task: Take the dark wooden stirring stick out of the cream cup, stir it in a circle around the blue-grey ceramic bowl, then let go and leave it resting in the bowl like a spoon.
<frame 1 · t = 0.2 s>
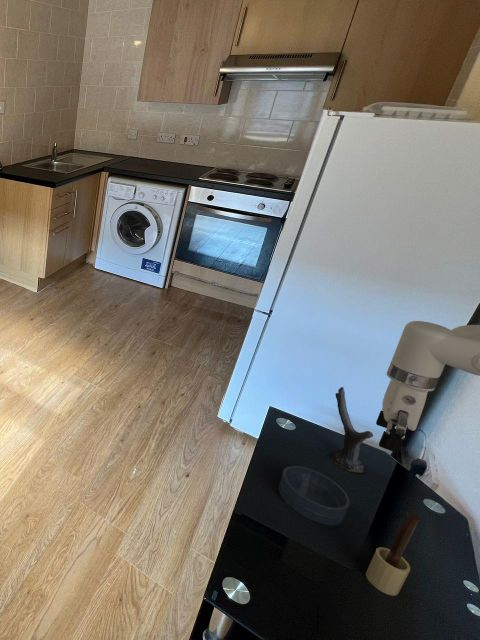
hand: (386, 437, 95), 30 cm above the table, tool pointing down, fingers open, 9 cm apart
bowl: (309, 503, 113), on the table
stick: (381, 582, 92), point 1 cm above the table, touching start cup
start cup: (380, 584, 92), on the table
antler: (338, 461, 128), on the table
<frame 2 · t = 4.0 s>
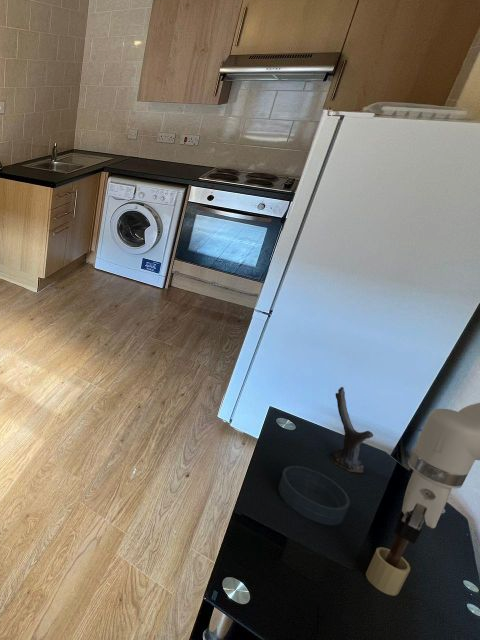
hand: (405, 533, 88), 16 cm above the table, tool pointing down, fingers closed on stick, 1 cm apart
stick: (381, 582, 92), point 1 cm above the table, touching gripper, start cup
everything else where it was.
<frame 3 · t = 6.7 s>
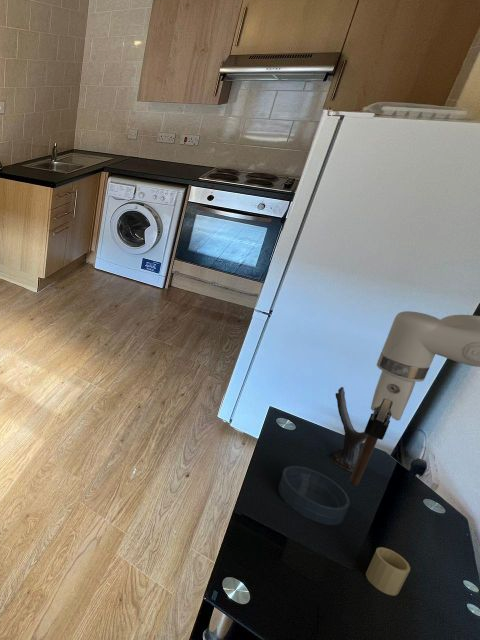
hand: (374, 433, 95), 31 cm above the table, tool pointing down, fingers closed on stick
stick: (353, 482, 100), point 16 cm above the table, touching gripper
everything else where it was.
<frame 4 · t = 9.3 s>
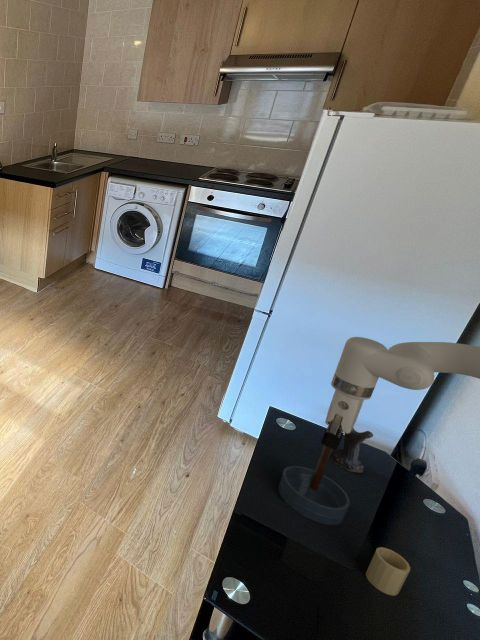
hand: (329, 443, 107), 20 cm above the table, tool pointing down, fingers closed on stick
stick: (313, 487, 111), point 5 cm above the table, touching gripper
everything else where it was.
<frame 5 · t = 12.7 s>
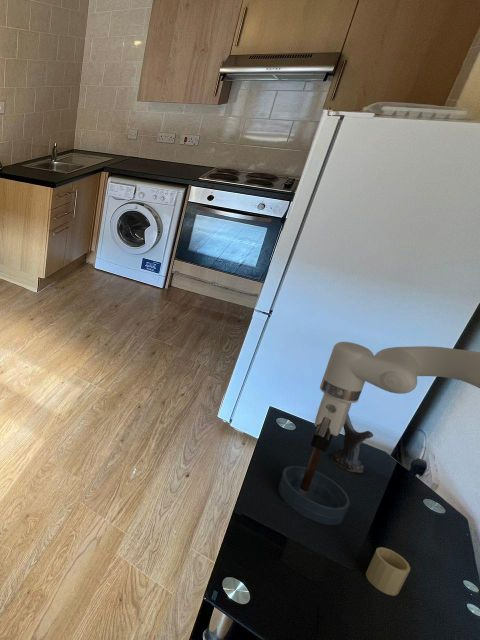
hand: (319, 446, 109), 18 cm above the table, tool pointing down, fingers closed on stick, 1 cm apart
stick: (303, 488, 114), point 3 cm above the table, touching gripper
everything else where it was.
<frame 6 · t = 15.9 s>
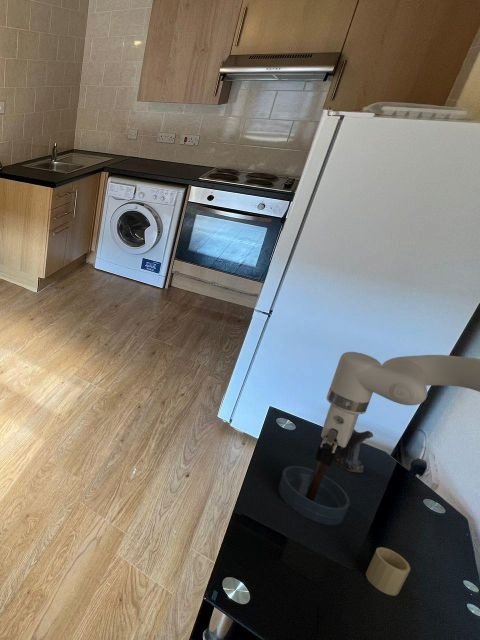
hand: (327, 453, 107), 17 cm above the table, tool pointing down, fingers open, 9 cm apart
stick: (308, 501, 113), point 1 cm above the table, touching bowl
everything else where it was.
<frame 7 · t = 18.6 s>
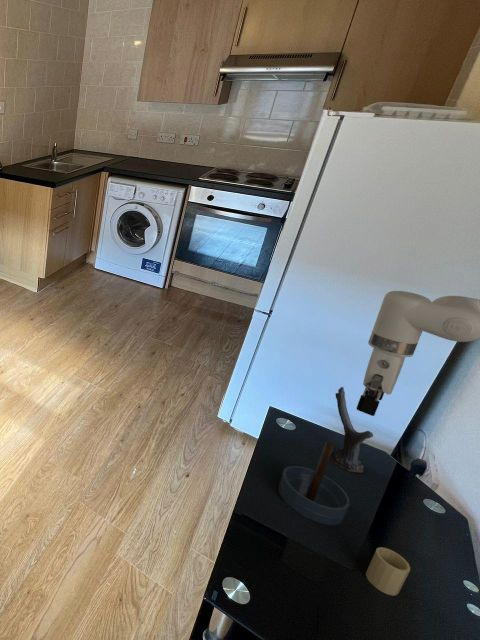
hand: (368, 404, 99), 35 cm above the table, tool pointing down, fingers open, 9 cm apart
nothing on the table moved.
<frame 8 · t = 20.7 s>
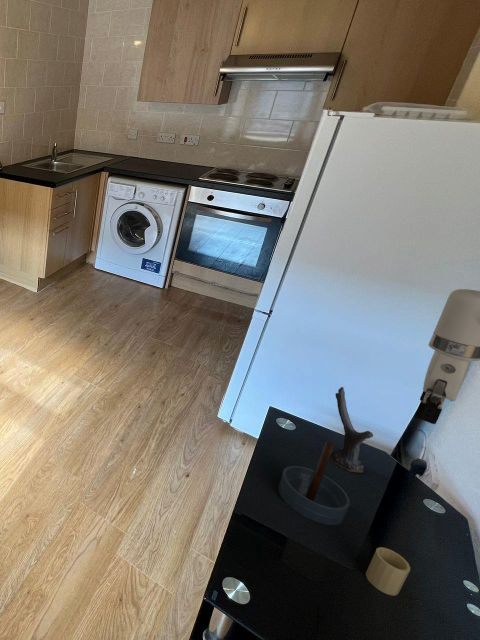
hand: (427, 411, 92), 38 cm above the table, tool pointing down, fingers open, 9 cm apart
nothing on the table moved.
at the end: stick inside the target area in the bowl (0.1 cm from its centre), point 0.6 cm above the bowl's base; stick moved 21.2 cm from its start; the gripper is holding nothing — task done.
